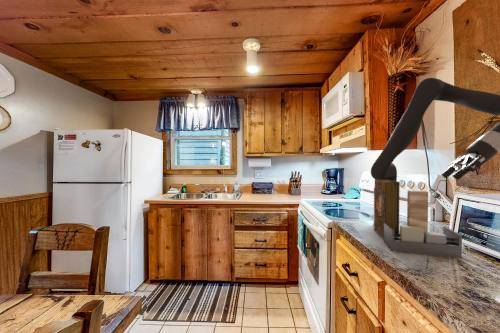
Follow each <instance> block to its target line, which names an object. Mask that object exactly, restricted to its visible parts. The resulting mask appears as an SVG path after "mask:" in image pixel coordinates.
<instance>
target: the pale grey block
mask: <svg viewBox="0 0 500 333" xmlns="http://www.w3.org/2000/svg"><path fill="white" fill-rule="evenodd" d="M424 243H435V244H446V235H444V234H443V233H439V232H438V233H435V232H428V233H424Z"/></svg>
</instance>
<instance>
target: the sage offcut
mask: <svg viewBox="0 0 500 333" xmlns="http://www.w3.org/2000/svg"><path fill="white" fill-rule="evenodd" d="M399 233H400V241H410V242H422V243H424V229H423V228H422V227H414V226H407V225H399Z"/></svg>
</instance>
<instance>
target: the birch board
mask: <svg viewBox="0 0 500 333" xmlns="http://www.w3.org/2000/svg"><path fill="white" fill-rule="evenodd" d="M406 200H407V201H406V202H407V204H406V205H407V207H406V208H407V210H406V211H407V212H406V220H407V221H406V224H407V225H406V226H414V227H422V228H423V229H424V233H429V230H428V227H429V226H428V224H429V191H426V190H410V189H409V190H407V199H406Z"/></svg>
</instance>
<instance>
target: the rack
mask: <svg viewBox="0 0 500 333" xmlns="http://www.w3.org/2000/svg"><path fill="white" fill-rule="evenodd" d="M442 230H443V231H442V234H444V235H446V244H435V243H422V242H410V241H400V232H399V233H394V230H393V229H392V228H391V227H390V226H389V225H388V224H387V223H384V239H383V242H384V244H385V245H386V247H387V248H388V249H389V250H390V252H392V251H396V252H395V253H401V252H403V253H402V254H412V253H413V254H414V255H425V256H433V257H434V256H435V257H444V258H457V259H462V257H463V256H462V254H463V248H462V247H463V235H462V234H460V233H458V232H456V231H455V230H453V229H451V228H449V227H447V226H443V228H442Z"/></svg>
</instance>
